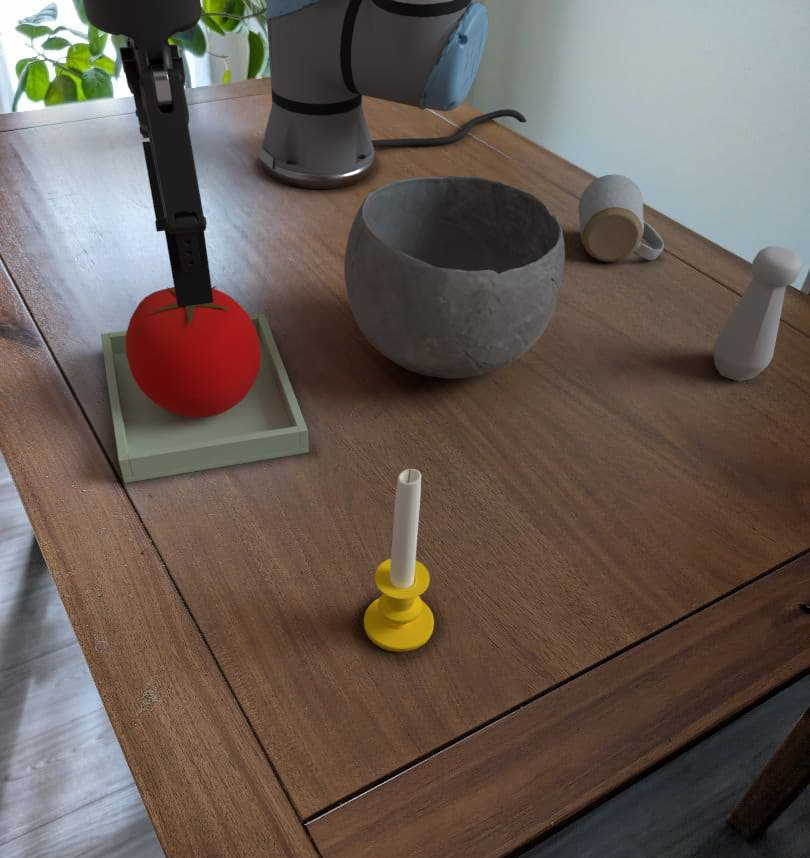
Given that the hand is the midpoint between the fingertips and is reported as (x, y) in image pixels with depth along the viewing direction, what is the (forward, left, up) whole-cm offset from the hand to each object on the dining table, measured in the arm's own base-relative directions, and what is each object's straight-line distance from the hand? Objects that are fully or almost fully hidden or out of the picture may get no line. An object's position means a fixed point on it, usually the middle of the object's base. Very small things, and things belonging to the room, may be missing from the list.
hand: (182, 258), depth 70 cm
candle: (-10, +30, -15) cm, 35 cm away
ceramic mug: (-53, -18, -15) cm, 58 cm away
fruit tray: (0, 0, -15) cm, 15 cm away
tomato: (0, 0, -14) cm, 14 cm away
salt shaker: (-53, +8, -15) cm, 56 cm away
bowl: (-25, -2, -15) cm, 29 cm away
